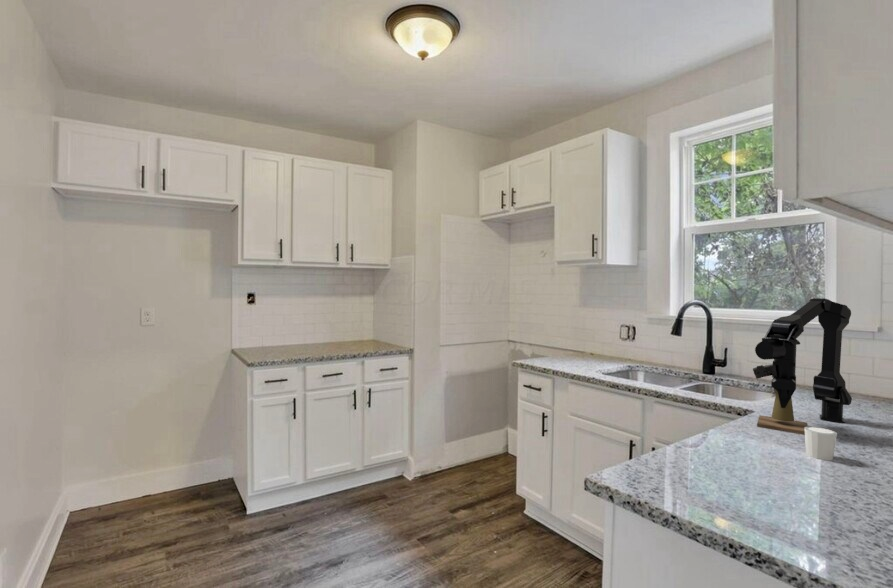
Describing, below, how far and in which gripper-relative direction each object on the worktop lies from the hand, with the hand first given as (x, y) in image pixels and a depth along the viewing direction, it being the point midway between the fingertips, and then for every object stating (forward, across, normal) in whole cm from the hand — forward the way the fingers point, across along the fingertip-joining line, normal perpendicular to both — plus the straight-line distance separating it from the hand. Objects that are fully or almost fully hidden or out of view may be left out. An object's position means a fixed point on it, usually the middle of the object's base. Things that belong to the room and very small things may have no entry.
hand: (783, 406), depth 152 cm
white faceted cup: (+7, +28, +8) cm, 30 cm away
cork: (+4, 0, 0) cm, 4 cm away
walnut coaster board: (+6, 0, 0) cm, 6 cm away
